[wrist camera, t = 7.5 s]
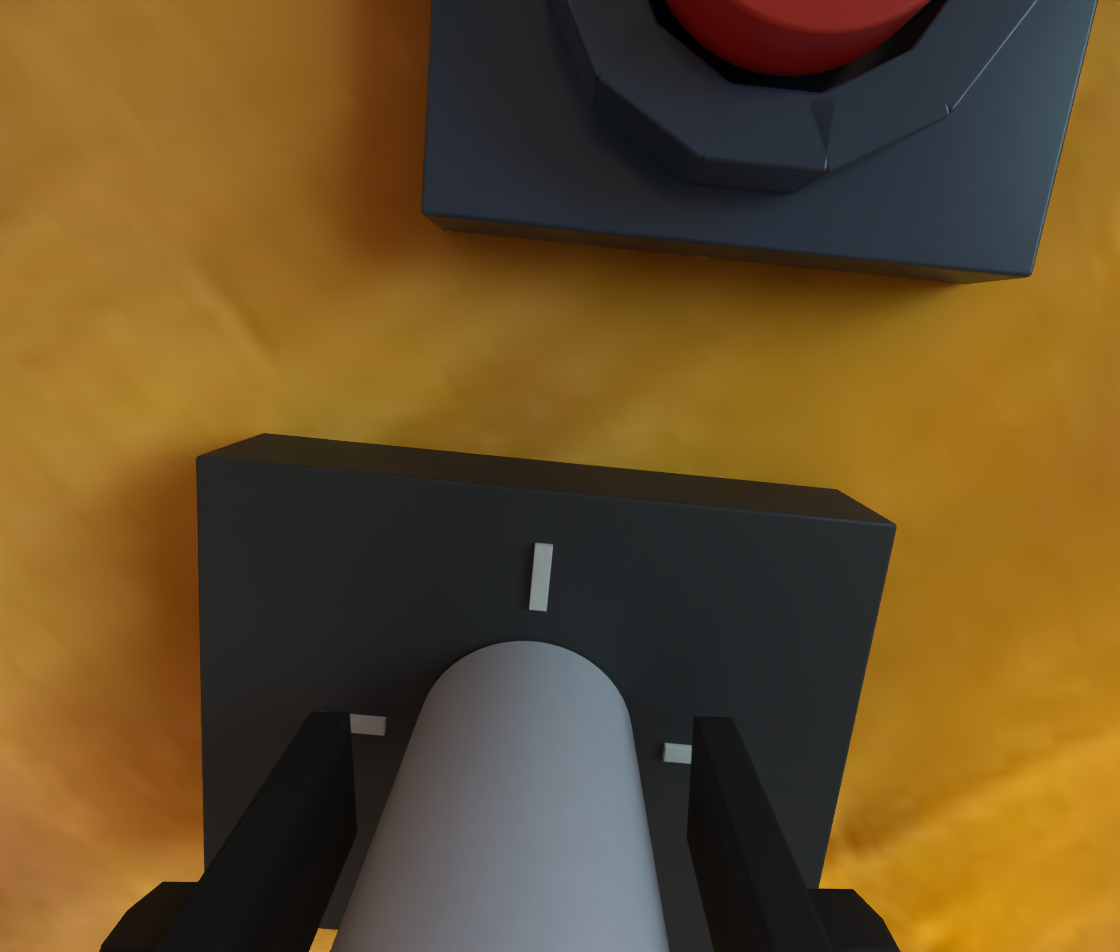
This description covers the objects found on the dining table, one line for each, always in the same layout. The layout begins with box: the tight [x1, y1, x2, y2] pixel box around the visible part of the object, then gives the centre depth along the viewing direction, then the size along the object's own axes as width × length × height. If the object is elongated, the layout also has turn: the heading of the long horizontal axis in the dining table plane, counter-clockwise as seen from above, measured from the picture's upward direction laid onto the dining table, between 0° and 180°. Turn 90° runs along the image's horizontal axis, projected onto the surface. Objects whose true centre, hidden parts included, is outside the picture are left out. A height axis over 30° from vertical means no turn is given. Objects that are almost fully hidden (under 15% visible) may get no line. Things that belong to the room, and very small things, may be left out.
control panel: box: [196, 433, 896, 952], centre depth 16 cm, size 14×11×3 cm
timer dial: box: [330, 641, 670, 952], centre depth 10 cm, size 5×5×8 cm
